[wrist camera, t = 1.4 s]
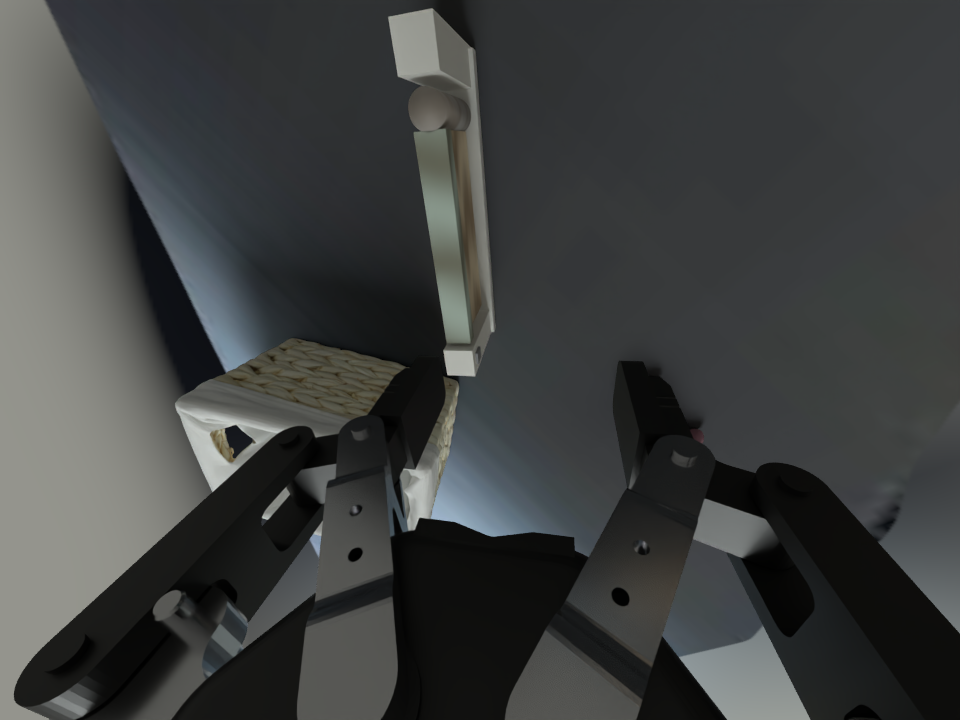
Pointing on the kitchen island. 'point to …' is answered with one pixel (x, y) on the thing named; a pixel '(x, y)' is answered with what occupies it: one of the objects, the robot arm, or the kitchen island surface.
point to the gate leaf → (448, 205)
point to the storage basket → (305, 412)
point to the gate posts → (452, 69)
